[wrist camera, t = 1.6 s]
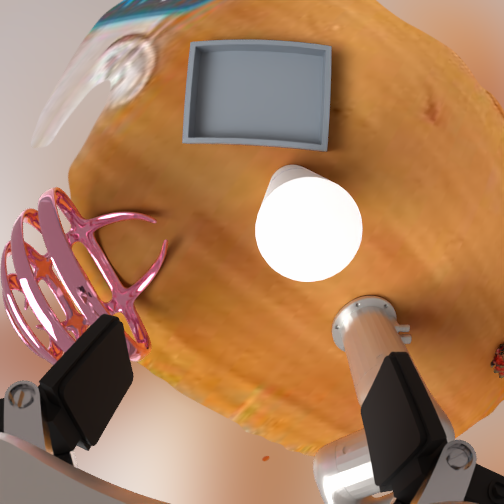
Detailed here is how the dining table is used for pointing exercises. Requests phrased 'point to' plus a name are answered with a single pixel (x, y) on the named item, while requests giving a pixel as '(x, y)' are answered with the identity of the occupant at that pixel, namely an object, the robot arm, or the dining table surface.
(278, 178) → the cylindrical container
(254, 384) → the dining table surface
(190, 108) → the tray
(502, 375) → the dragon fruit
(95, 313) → the spiral basket
